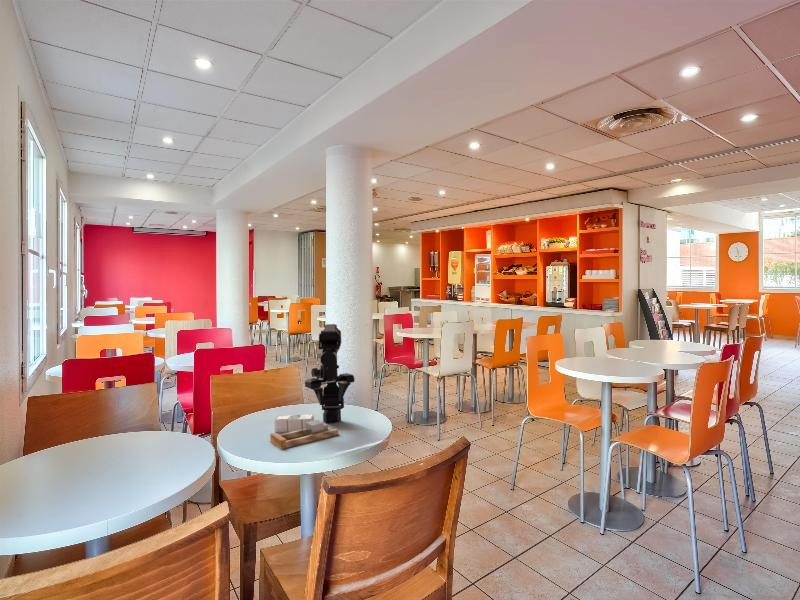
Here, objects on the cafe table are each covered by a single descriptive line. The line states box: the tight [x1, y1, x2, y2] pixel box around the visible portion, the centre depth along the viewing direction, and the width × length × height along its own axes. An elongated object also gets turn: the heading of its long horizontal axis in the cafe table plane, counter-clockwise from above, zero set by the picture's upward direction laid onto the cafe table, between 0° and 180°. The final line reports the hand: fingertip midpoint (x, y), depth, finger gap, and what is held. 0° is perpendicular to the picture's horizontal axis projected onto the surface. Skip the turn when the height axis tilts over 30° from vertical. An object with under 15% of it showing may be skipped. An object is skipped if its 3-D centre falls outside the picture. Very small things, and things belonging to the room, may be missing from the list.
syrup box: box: [274, 414, 315, 433], centre depth 179 cm, size 6×6×14 cm
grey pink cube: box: [306, 419, 325, 436], centre depth 171 cm, size 5×5×5 cm
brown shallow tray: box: [269, 423, 341, 451], centre depth 168 cm, size 23×12×4 cm, turn 128°
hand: (330, 402), depth 175 cm, fingers open, 8 cm apart
